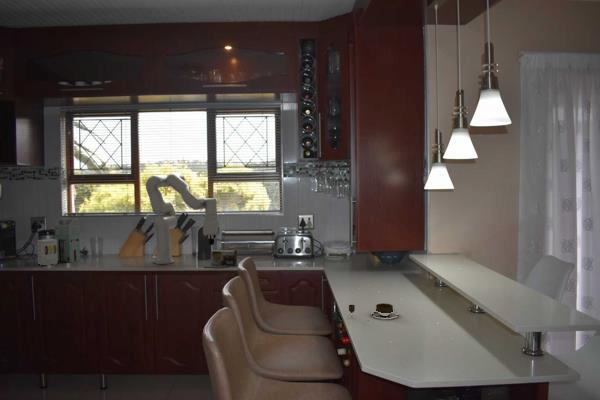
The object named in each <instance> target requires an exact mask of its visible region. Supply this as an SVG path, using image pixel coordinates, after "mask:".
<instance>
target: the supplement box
mask: <svg viewBox="0 0 600 400" xmlns="http://www.w3.org/2000/svg"><path fill="white" fill-rule="evenodd" d="M36 242H37V244H36V245H37V246H36V247H37V248H36V249H37V265H38V264H40V265H39V266H42V265H47V266H51V265H50V264H54V265H58V264H57V263H58V257H57V240H56V239H55V238H48V239H47V238H46V239H45V238H44V239H37V240H36Z"/></svg>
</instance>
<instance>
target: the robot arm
mask: <svg viewBox="0 0 600 400" xmlns="http://www.w3.org/2000/svg"><path fill="white" fill-rule="evenodd" d="M170 187H171V188H172V189H173V190H174V191H175V192H177V193H178V194H179V195H180V197H181V199H182V200H183V203H185V205H187V206H188V207H189V208H191V209H192V210H195V211H199V210H205V211H204V215H203V218H204V219H203V223H202V224H203V225H202V232H203V233H202V234H203V236H204V237H207V239H208V244H209V246H210V245H211V246H213V245H214V244H215V239H216V238H217V237H219V236H220V223H219V219H218V207H217V203H218V202H217V198H215V197H214V198H213V197H211V198H209V197H207V198H206V197H195V196H194V195H193V193H191V192H190V190H191V186H190V185H189V184H188V183H187V182H186V178H185V176H184V175H183V174H182V173H181V172H180V173H178V172H175V173H173V172H172V173H169V174H154V175H151V176H149V177H148V179H147V180H146V183H145V190H146V193H147V195H148V199H149V202H150V205H151V208H152V209H151V210H152V212H153V214H154V215H155V216H156V215H157V216H160V217H157V219H155V222H154V228H155V234H156V256H155V255H152V260H155V261H154V264H155V265H167V264H172V263H175V260H174V259H172V234H171V232H170V231H171V230H173V229H174V228H176V227H177V225H178V218H177V216H176V211H175V208H174V206H173V204H172V202H171V201H169V200H164V197H163V195H162V192H161V190H159V188H170ZM161 215H162V216H161Z"/></svg>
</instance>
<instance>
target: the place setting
mask: <svg viewBox="0 0 600 400" xmlns="http://www.w3.org/2000/svg"><path fill="white" fill-rule="evenodd" d="M355 306H356V305H355V304H349V305H348V311H349V312H350V314H351V313H354V312H355V309H356V307H355ZM375 309H376V311H378V312H381V313H391V312H393V310H394V306H393V304H391V303H381V302H380V303H377V304H376V305H375Z"/></svg>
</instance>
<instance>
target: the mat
mask: <svg viewBox="0 0 600 400" xmlns="http://www.w3.org/2000/svg"><path fill="white" fill-rule="evenodd" d="M228 266H229V265H211V263H209V264H207V265H205V266H203V268H207V269H224V268H225V267H228Z"/></svg>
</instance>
